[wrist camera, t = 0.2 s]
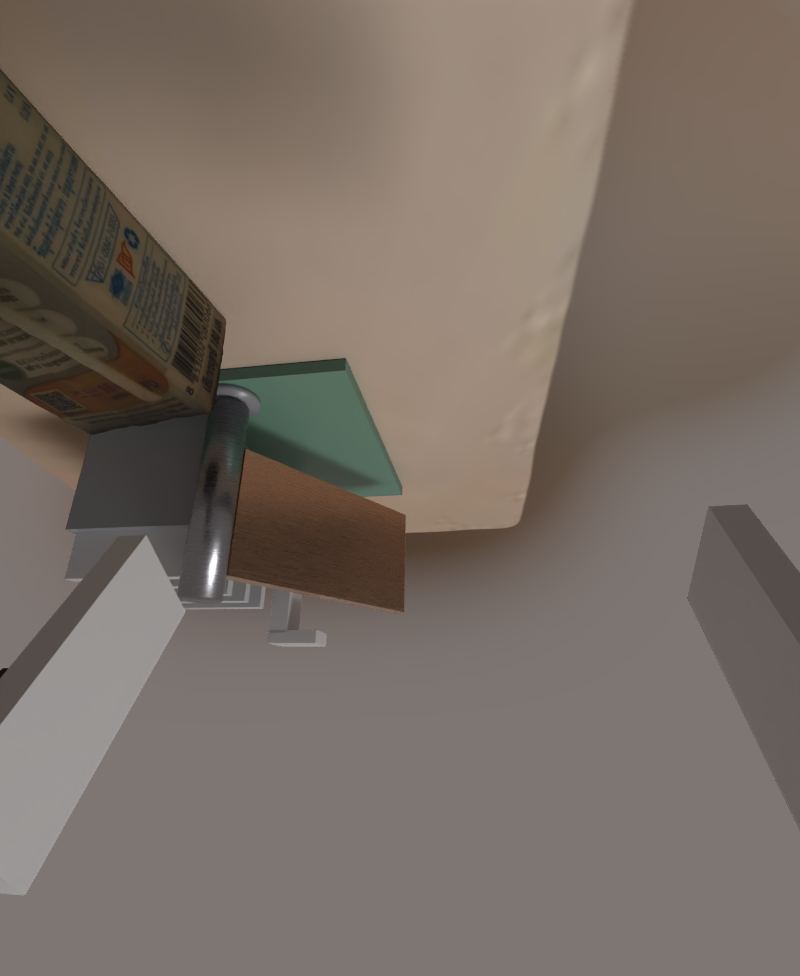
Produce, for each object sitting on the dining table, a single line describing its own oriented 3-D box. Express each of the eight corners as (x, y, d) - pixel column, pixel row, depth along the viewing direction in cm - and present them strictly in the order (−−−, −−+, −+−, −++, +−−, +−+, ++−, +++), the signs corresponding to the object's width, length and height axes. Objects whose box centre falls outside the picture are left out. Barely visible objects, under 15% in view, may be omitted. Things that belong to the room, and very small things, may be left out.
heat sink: (58, 384, 34) (-11, 610, 29) (345, 358, 31) (329, 607, 25) (212, 495, 52) (187, 646, 47) (402, 486, 49) (399, 647, 44)
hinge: (202, 406, 33) (167, 598, 29) (224, 394, 32) (191, 594, 27) (390, 491, 46) (387, 633, 42) (412, 485, 45) (410, 631, 40)
